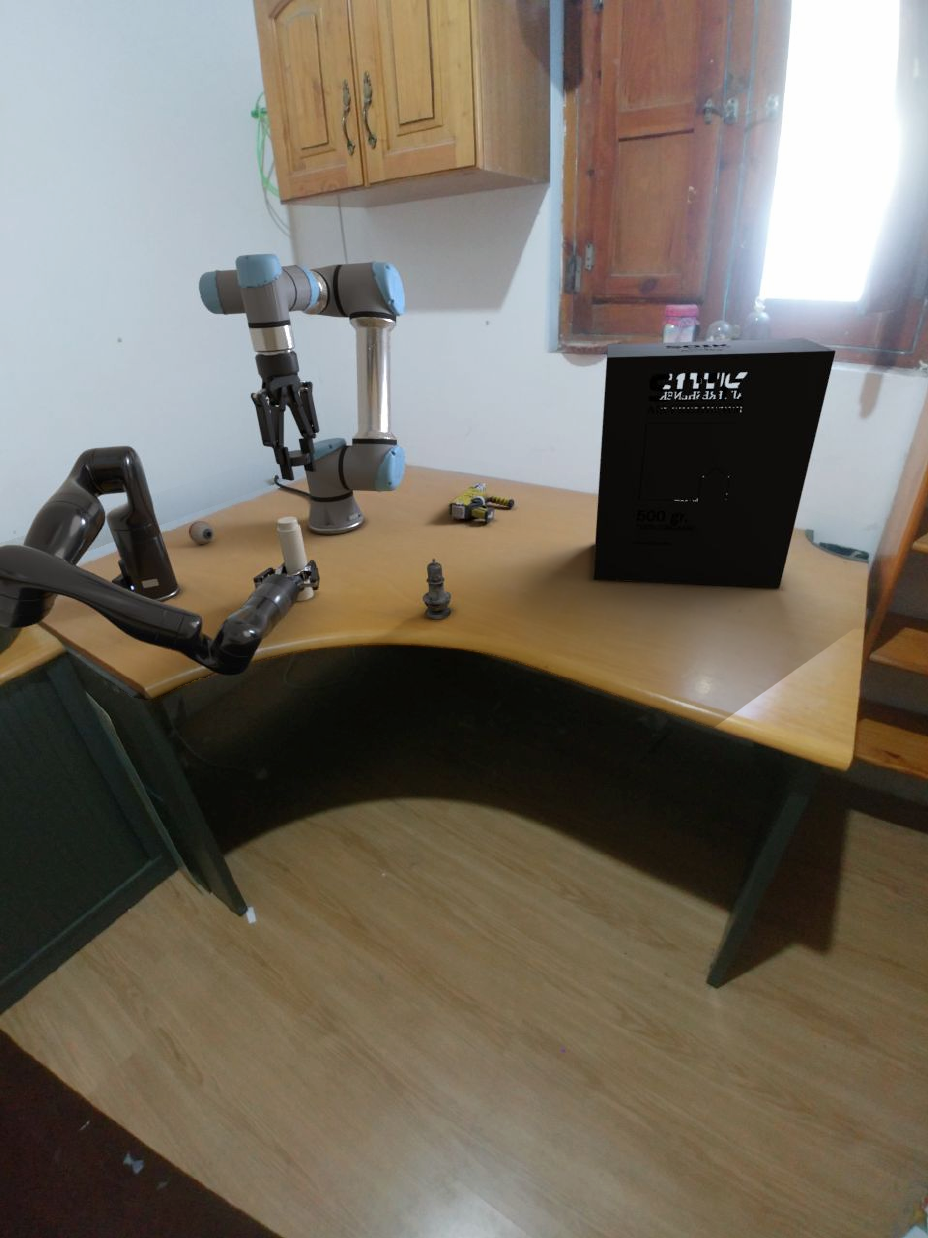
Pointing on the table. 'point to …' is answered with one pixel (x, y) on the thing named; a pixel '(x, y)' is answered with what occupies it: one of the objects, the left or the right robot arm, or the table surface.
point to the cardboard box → (706, 459)
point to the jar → (293, 550)
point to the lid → (299, 457)
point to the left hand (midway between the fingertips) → (301, 563)
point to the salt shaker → (436, 593)
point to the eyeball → (201, 532)
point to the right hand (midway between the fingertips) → (299, 474)
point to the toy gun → (476, 504)
